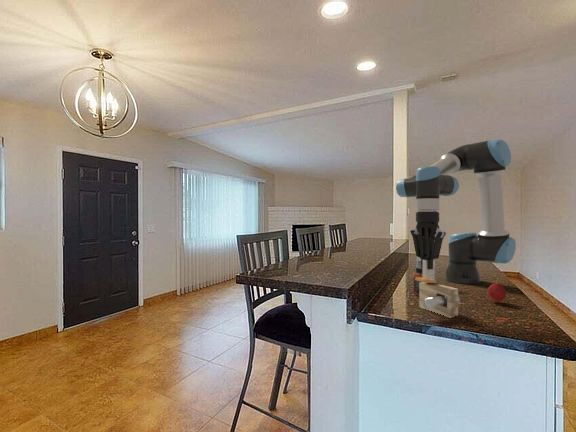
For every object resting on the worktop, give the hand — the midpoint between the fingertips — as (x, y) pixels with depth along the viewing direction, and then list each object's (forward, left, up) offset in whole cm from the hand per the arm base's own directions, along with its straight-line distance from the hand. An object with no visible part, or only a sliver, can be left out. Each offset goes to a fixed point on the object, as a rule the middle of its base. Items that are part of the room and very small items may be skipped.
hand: (426, 278), depth 107 cm
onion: (-28, +7, -11) cm, 31 cm away
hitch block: (-1, +3, -11) cm, 12 cm away
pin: (+1, +6, -9) cm, 11 cm away
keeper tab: (0, 0, -1) cm, 1 cm away
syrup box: (-28, -24, -11) cm, 39 cm away
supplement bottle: (-13, -14, -11) cm, 22 cm away
